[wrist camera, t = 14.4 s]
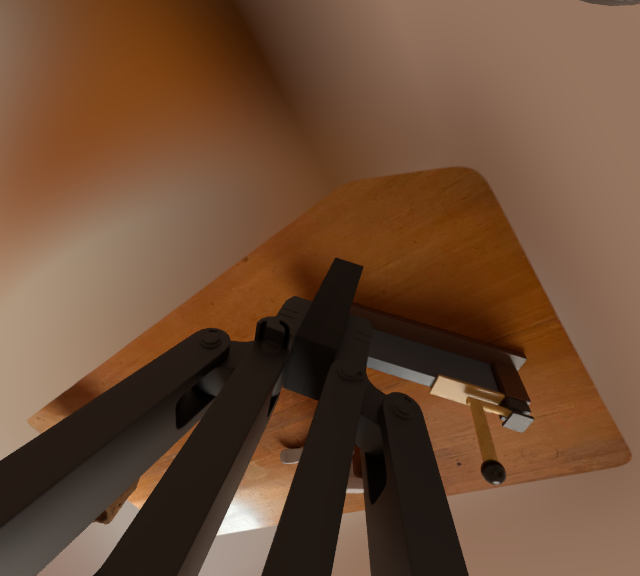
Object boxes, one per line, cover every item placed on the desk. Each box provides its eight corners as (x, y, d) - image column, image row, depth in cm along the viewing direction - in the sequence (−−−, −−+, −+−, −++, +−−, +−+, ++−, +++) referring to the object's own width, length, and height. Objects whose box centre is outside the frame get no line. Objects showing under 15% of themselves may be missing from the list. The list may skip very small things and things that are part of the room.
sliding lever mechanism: (310, 330, 49) (292, 373, 41) (319, 292, 46) (302, 332, 38) (499, 388, 47) (519, 445, 39) (524, 354, 43) (552, 409, 35)
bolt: (462, 402, 40) (479, 485, 31) (469, 390, 39) (490, 473, 30) (519, 420, 39) (553, 509, 31) (529, 409, 38) (567, 498, 29)
